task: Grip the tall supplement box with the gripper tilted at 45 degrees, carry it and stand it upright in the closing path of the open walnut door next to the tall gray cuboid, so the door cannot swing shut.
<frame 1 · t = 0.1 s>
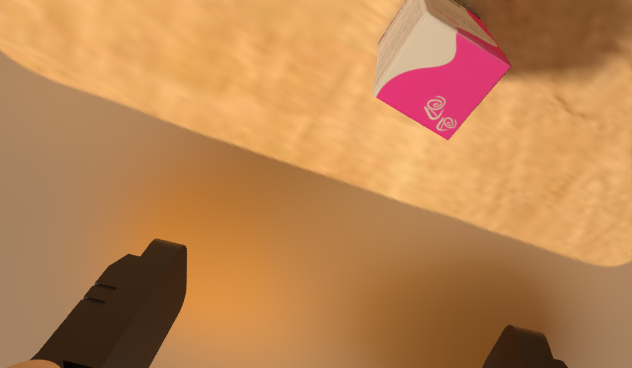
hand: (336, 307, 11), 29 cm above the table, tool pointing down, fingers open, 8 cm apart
supplement box: (427, 32, 35), on the table
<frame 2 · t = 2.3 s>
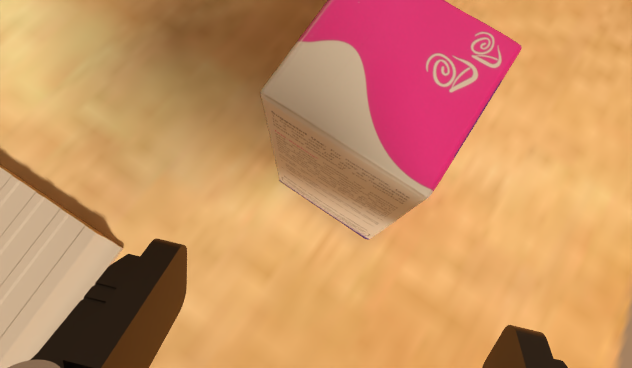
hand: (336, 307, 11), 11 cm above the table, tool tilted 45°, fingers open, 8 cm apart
supplement box: (353, 168, 24), on the table
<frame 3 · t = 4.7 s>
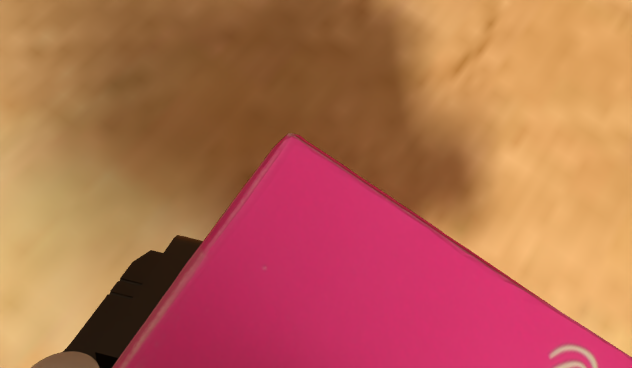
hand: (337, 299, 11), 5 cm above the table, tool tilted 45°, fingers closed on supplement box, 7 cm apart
supplement box: (320, 336, 16), on the table, touching gripper
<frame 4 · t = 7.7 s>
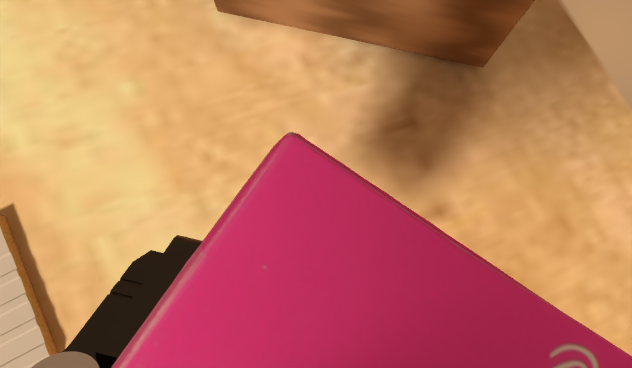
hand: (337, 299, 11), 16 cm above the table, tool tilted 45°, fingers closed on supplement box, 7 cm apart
supplement box: (320, 336, 16), point 11 cm above the table, touching gripper
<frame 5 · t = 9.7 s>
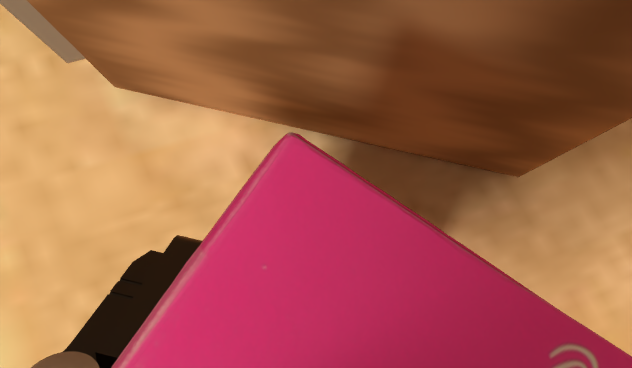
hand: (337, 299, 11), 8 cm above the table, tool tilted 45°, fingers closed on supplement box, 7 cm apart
tall gray cuboid: (103, 75, 21), on the table
door: (320, 12, 13), point 8 cm above the table, hinge at 60.0°
supplement box: (320, 336, 16), point 2 cm above the table, touching gripper
when the fingers open (6 cm above the table, at t = 11.1 s): supplement box stays where it is, on the table.
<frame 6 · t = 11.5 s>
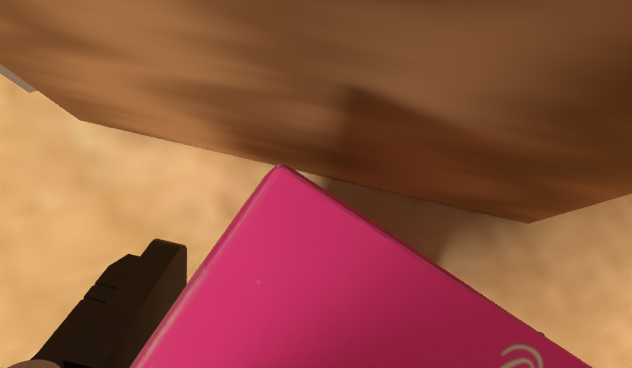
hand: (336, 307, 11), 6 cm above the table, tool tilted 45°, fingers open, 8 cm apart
door: (301, 52, 11), point 8 cm above the table, hinge at 60.0°
supplement box: (315, 338, 17), on the table
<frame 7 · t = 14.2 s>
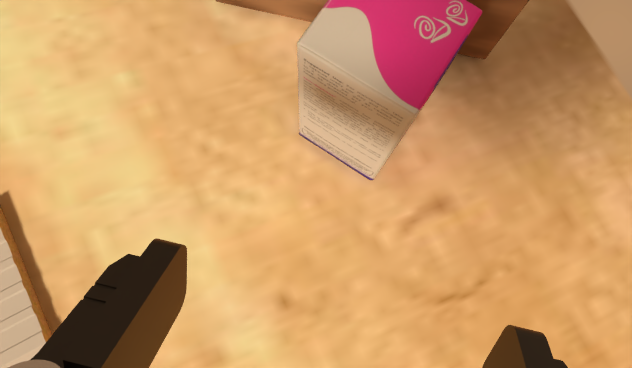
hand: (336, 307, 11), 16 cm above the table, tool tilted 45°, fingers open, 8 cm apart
supplement box: (359, 124, 29), on the table
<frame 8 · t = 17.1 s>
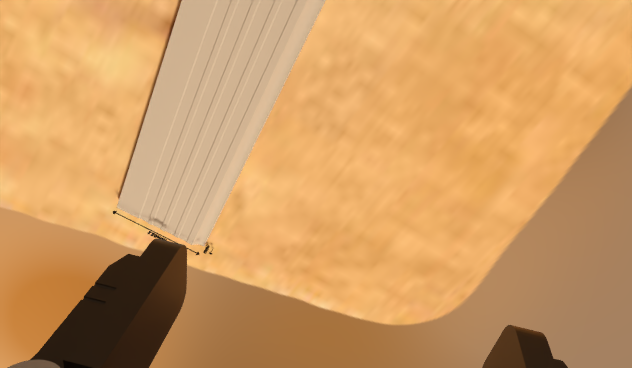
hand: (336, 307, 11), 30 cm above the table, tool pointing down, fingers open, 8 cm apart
baseboard: (216, 117, 44), on the table
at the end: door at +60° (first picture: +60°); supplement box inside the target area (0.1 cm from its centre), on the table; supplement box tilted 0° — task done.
